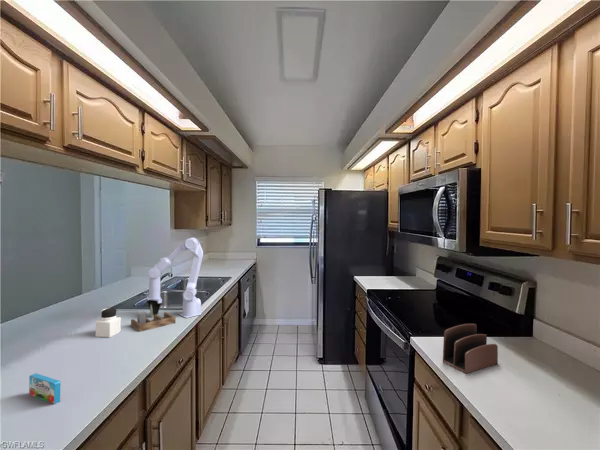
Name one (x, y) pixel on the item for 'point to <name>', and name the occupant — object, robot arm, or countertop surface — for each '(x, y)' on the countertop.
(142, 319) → the gray block
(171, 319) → the comb rack
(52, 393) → the yogurt
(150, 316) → the sage block
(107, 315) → the medicine bottle
